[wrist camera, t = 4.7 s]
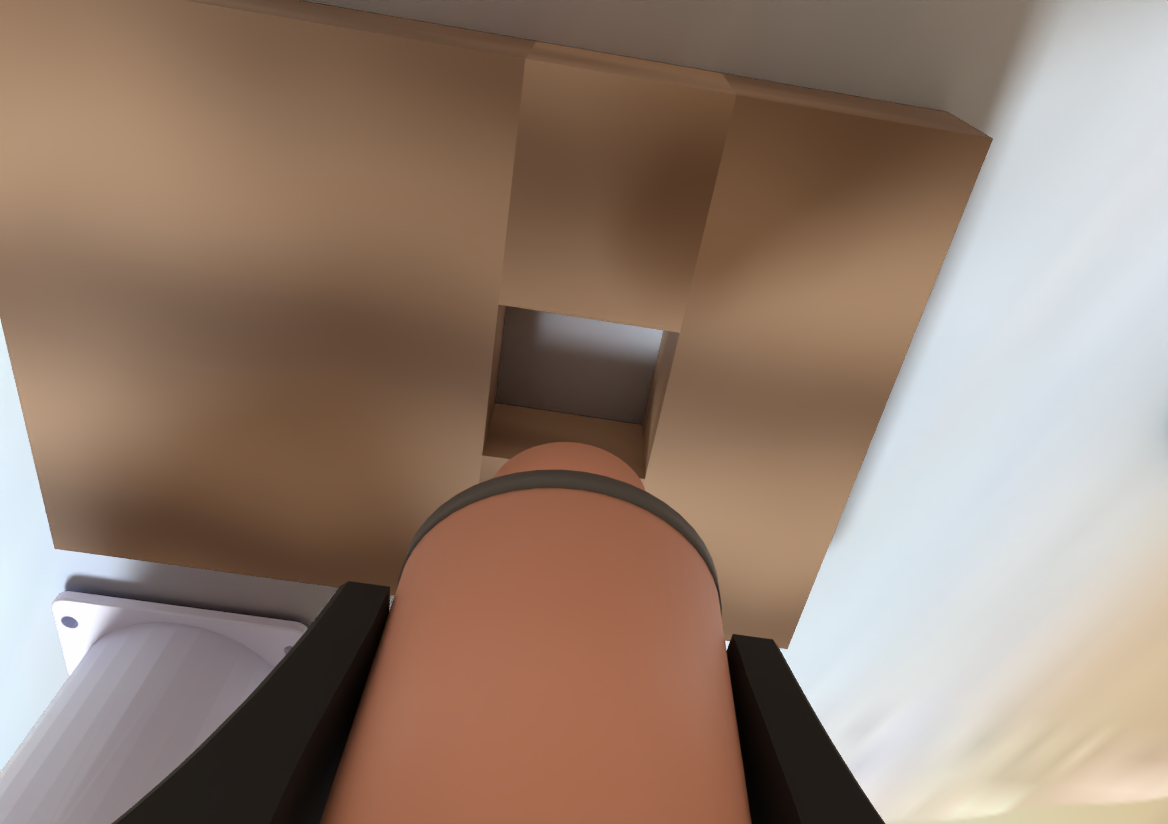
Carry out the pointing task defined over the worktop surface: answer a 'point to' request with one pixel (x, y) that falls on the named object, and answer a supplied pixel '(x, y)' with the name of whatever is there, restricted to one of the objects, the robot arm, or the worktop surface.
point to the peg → (549, 662)
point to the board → (439, 280)
